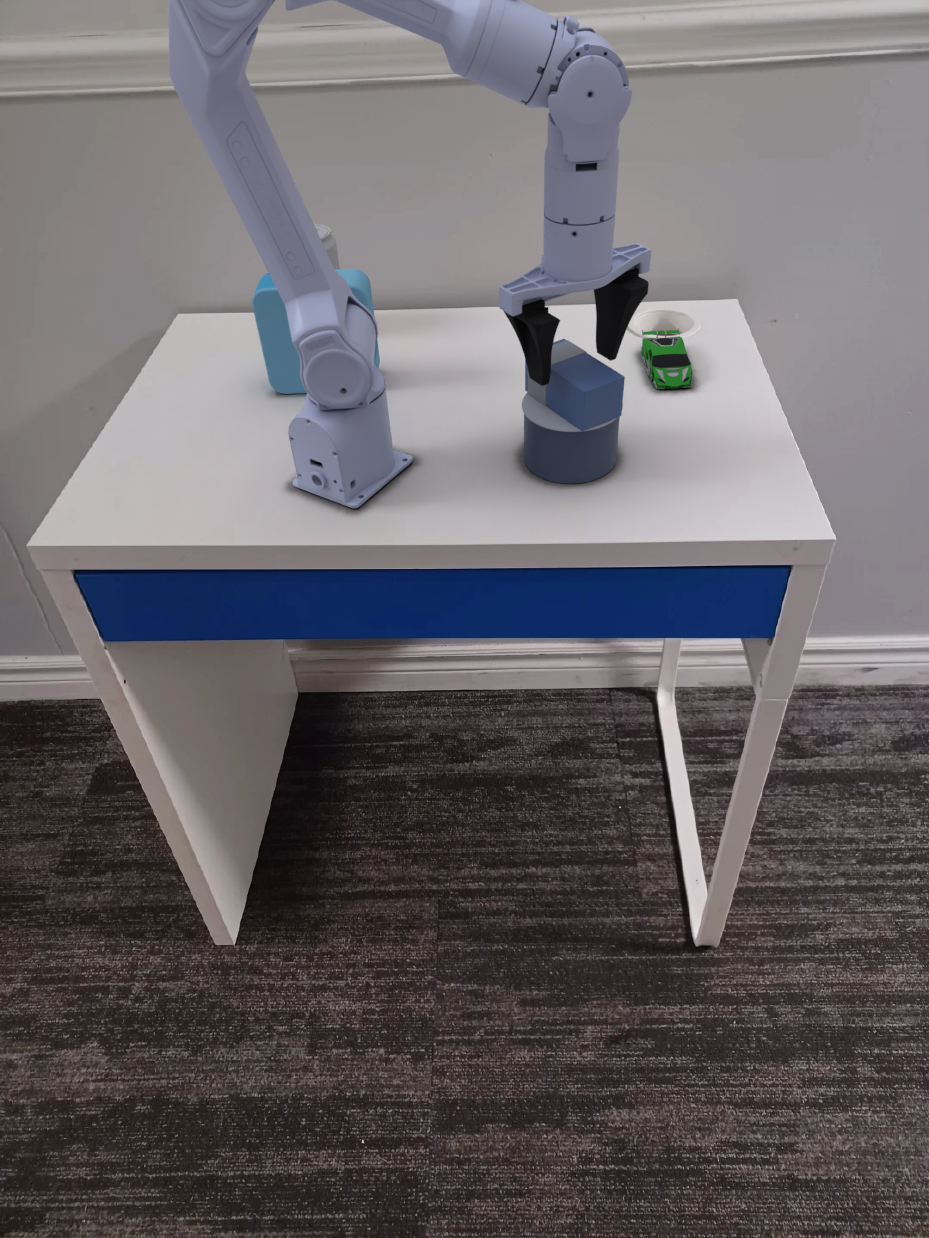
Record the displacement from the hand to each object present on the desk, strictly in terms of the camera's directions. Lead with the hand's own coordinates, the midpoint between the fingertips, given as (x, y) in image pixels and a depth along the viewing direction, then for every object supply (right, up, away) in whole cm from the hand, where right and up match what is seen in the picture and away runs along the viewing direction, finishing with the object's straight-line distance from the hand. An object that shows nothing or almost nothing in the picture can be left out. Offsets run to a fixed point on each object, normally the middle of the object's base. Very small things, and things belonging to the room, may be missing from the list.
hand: (573, 368), depth 81 cm
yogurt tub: (+1, -7, +7) cm, 10 cm away
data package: (-25, +4, +20) cm, 32 cm away
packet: (0, -3, +2) cm, 4 cm away
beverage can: (-27, +13, +30) cm, 42 cm away
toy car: (+13, +5, +19) cm, 23 cm away
